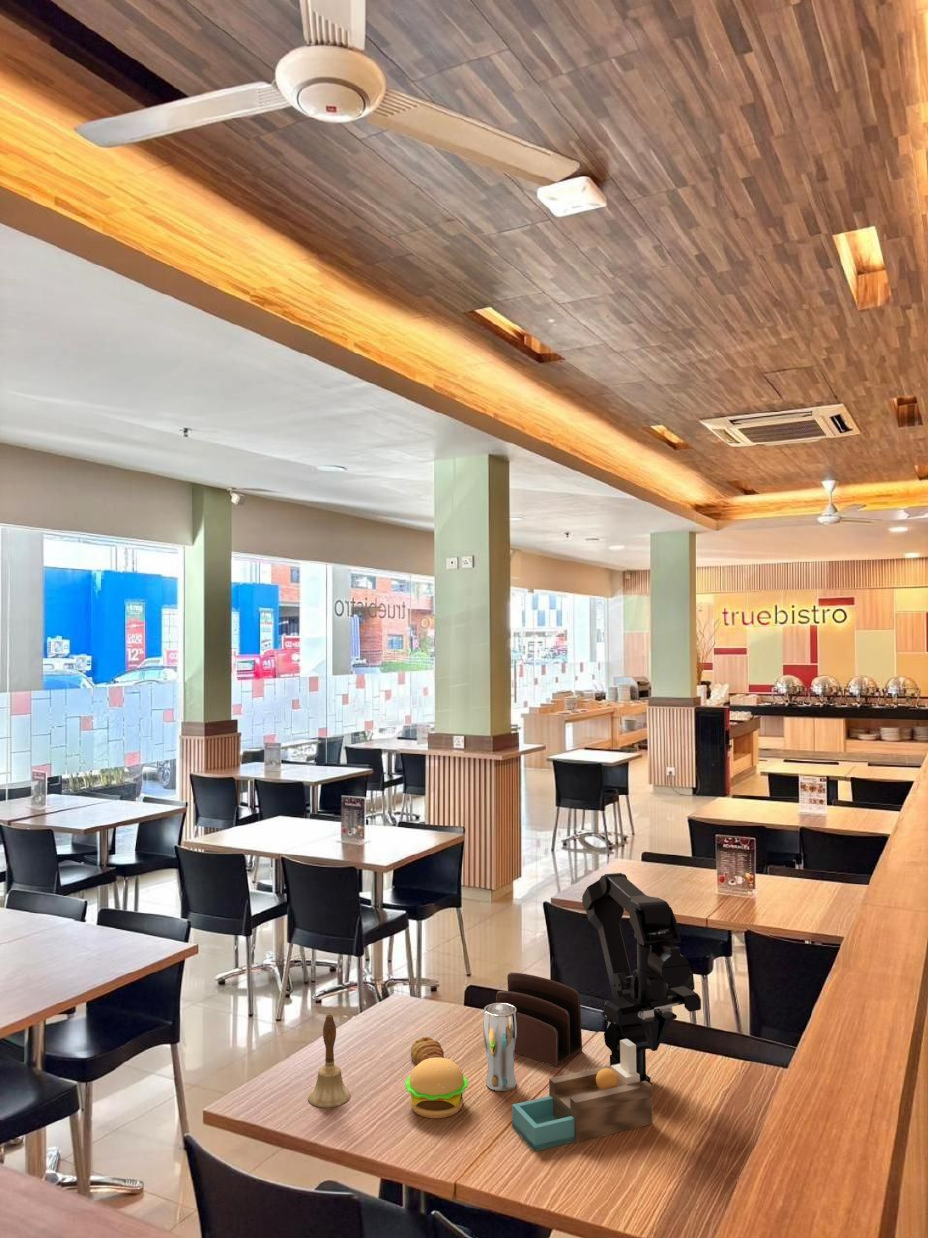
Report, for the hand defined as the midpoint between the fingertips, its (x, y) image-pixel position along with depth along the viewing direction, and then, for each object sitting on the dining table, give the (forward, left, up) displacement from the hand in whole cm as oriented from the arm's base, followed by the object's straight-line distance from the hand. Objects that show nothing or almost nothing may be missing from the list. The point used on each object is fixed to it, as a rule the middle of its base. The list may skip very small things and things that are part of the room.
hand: (653, 1050), depth 174 cm
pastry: (+32, -36, -11) cm, 50 cm away
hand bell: (+56, -29, -11) cm, 64 cm away
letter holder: (+9, -33, -11) cm, 36 cm away
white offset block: (+7, 0, -6) cm, 9 cm away
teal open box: (+24, 0, -11) cm, 26 cm away
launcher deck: (+12, 0, -11) cm, 16 cm away
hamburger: (+38, -17, -11) cm, 43 cm away
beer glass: (+23, -20, -11) cm, 32 cm away
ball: (+11, 0, -4) cm, 11 cm away
